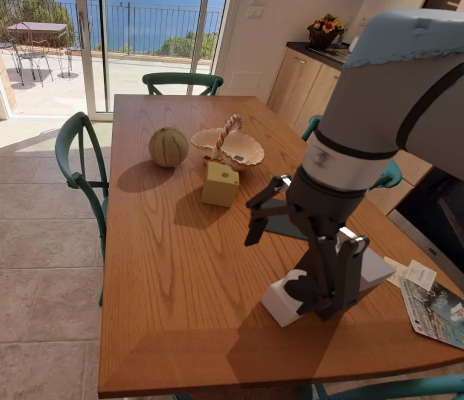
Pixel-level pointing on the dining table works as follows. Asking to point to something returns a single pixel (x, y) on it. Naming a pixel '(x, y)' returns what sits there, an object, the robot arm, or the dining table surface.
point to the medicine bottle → (288, 296)
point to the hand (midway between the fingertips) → (275, 273)
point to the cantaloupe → (168, 147)
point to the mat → (281, 221)
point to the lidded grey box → (371, 277)
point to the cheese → (219, 184)
